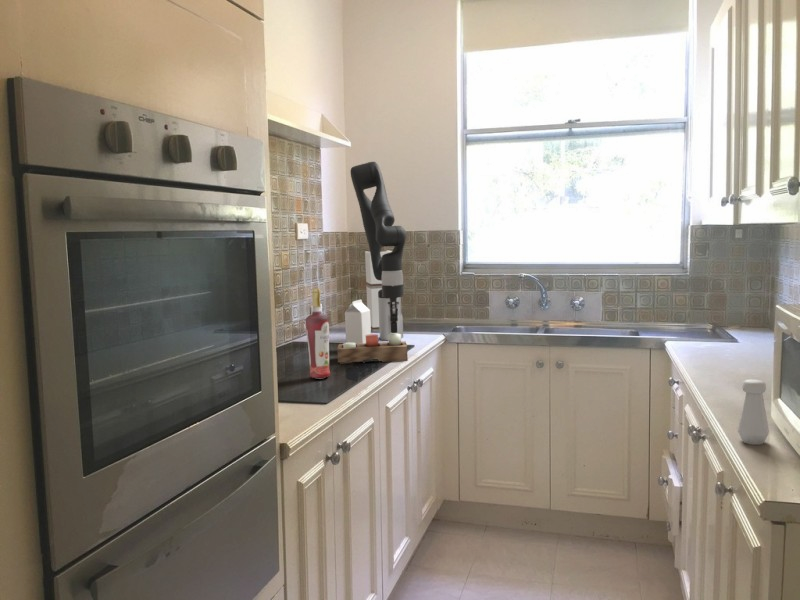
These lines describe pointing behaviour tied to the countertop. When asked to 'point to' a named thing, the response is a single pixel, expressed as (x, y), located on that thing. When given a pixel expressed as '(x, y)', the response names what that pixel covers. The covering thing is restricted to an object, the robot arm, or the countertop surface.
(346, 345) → the pale green sphere
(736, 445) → the countertop surface
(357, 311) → the milk carton
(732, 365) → the countertop surface
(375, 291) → the white notched tower
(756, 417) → the salt shaker
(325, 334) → the liquor
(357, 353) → the wooden ball rack
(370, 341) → the red ball
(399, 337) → the cream white sphere
